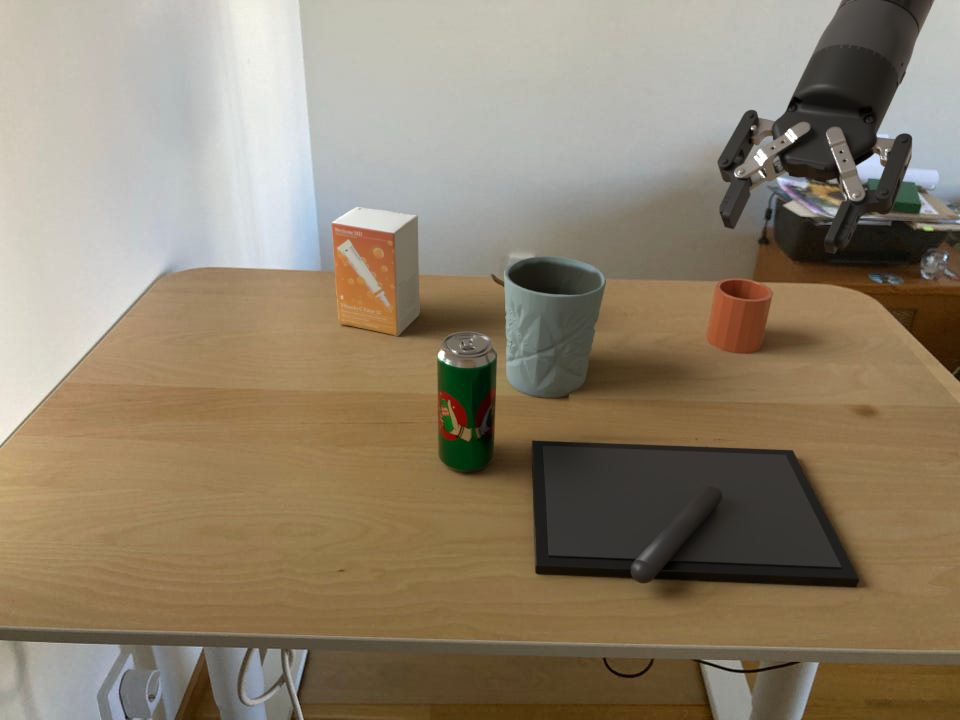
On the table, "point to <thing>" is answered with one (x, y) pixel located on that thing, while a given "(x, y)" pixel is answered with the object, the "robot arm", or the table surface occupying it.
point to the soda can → (466, 401)
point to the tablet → (663, 494)
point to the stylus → (675, 534)
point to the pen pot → (739, 315)
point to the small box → (376, 269)
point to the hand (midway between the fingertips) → (776, 236)
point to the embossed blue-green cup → (550, 323)
